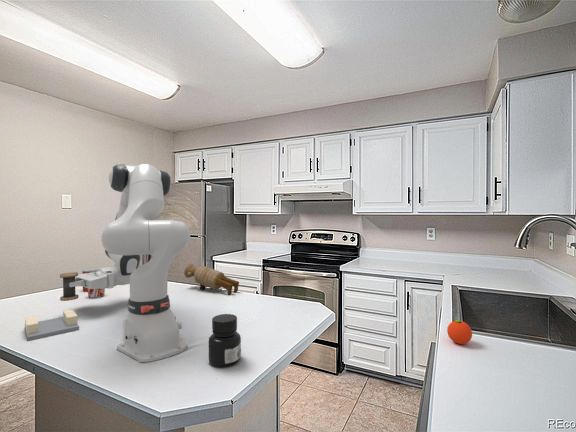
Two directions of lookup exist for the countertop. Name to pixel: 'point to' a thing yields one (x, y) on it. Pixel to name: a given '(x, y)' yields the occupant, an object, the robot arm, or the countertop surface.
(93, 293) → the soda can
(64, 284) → the bobbin
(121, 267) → the robot arm
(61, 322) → the terminal board
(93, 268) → the red printed box
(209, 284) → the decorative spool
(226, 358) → the ink bottle
